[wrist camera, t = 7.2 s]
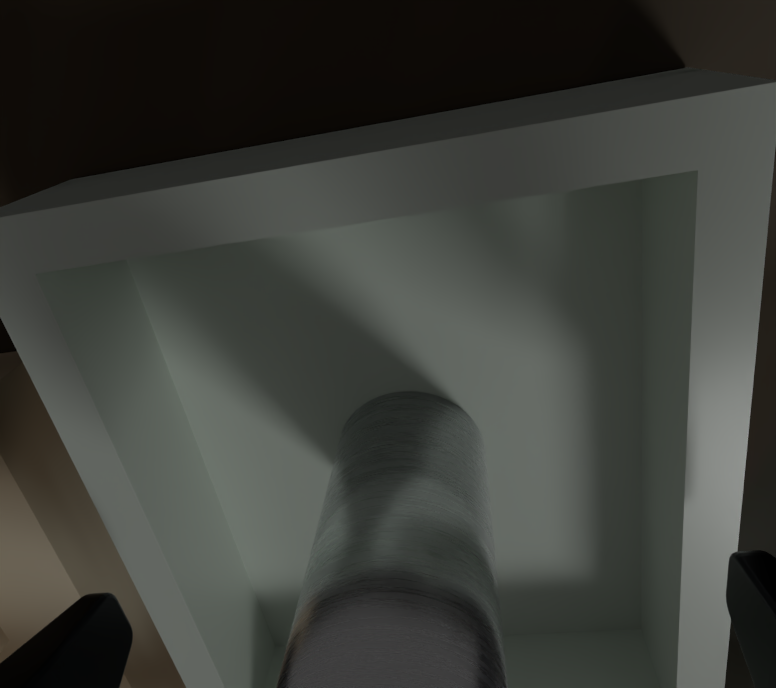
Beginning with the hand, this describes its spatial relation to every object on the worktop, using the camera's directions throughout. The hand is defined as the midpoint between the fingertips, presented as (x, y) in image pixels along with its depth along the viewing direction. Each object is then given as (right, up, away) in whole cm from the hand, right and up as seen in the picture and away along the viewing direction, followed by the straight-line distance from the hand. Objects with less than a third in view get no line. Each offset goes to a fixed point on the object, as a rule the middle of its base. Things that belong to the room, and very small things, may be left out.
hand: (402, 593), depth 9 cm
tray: (0, +2, +3) cm, 4 cm away
